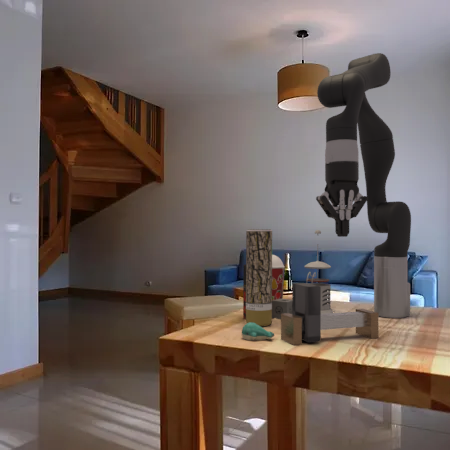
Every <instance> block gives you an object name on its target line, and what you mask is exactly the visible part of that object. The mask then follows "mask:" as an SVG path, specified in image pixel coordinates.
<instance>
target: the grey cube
mask: <svg viewBox="0 0 450 450" xmlns="http://www.w3.org/2000/svg"><path fill="white" fill-rule="evenodd" d="M283 313H290V314H292V299H287V298H283V299H276V300H272V319H277V320H281V314H283Z"/></svg>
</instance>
